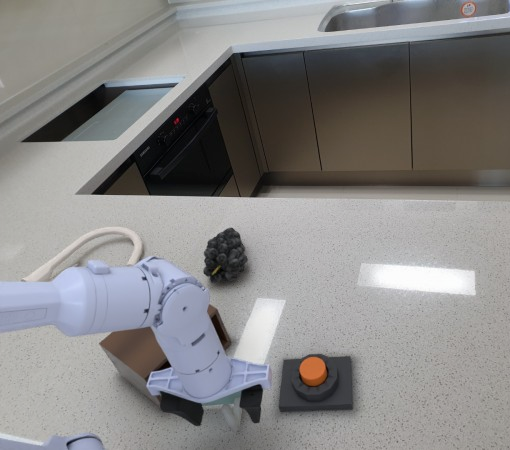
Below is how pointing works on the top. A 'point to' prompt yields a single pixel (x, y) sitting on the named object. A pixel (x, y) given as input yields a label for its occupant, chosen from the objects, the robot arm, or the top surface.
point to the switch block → (317, 397)
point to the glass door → (229, 409)
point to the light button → (313, 371)
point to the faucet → (46, 270)
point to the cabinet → (147, 352)
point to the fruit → (224, 256)
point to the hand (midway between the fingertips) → (228, 417)
